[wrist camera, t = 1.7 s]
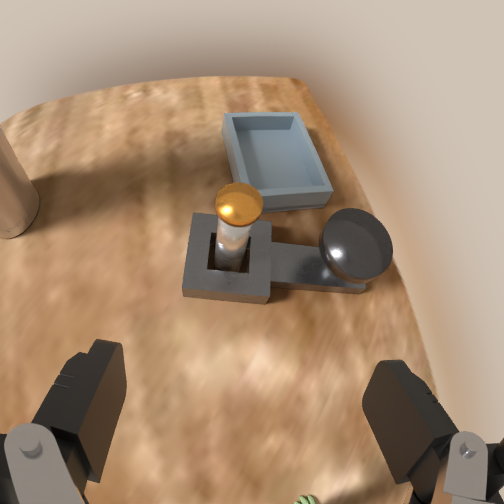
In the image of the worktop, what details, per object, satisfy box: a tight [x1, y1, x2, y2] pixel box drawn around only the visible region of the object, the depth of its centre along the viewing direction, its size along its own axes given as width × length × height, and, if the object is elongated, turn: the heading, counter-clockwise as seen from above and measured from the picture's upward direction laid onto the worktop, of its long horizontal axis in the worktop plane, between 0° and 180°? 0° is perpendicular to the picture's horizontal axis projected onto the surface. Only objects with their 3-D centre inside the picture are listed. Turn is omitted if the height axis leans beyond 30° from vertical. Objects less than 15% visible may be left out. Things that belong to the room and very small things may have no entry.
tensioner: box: [182, 208, 393, 304], centre depth 35 cm, size 22×9×9 cm, turn 87°
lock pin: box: [214, 182, 263, 272], centre depth 32 cm, size 4×4×13 cm
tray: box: [222, 112, 334, 213], centre depth 44 cm, size 16×12×4 cm
